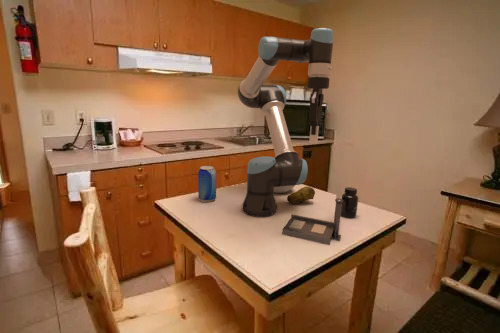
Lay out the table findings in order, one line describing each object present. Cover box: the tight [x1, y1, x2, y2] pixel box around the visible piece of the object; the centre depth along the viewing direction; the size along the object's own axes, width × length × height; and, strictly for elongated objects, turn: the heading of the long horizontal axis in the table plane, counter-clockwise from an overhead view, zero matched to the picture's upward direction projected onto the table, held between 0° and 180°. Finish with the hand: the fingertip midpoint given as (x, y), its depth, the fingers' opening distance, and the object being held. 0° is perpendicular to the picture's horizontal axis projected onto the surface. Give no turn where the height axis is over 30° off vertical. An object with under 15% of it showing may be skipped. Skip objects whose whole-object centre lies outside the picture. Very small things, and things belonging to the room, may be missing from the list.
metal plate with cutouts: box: [281, 214, 334, 246], centre depth 106 cm, size 17×12×3 cm
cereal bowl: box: [274, 186, 295, 194], centre depth 152 cm, size 17×17×7 cm
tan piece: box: [335, 187, 342, 199], centre depth 109 cm, size 18×2×7 cm, turn 163°
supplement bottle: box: [340, 186, 359, 219], centre depth 121 cm, size 7×7×12 cm
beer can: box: [197, 165, 217, 203], centre depth 134 cm, size 8×8×16 cm
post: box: [331, 198, 343, 242], centre depth 100 cm, size 4×4×15 cm
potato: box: [286, 186, 316, 204], centre depth 135 cm, size 8×13×8 cm, turn 81°
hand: (313, 143), depth 105 cm, fingers closed
